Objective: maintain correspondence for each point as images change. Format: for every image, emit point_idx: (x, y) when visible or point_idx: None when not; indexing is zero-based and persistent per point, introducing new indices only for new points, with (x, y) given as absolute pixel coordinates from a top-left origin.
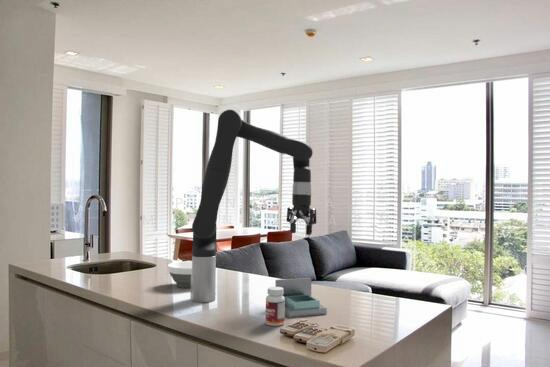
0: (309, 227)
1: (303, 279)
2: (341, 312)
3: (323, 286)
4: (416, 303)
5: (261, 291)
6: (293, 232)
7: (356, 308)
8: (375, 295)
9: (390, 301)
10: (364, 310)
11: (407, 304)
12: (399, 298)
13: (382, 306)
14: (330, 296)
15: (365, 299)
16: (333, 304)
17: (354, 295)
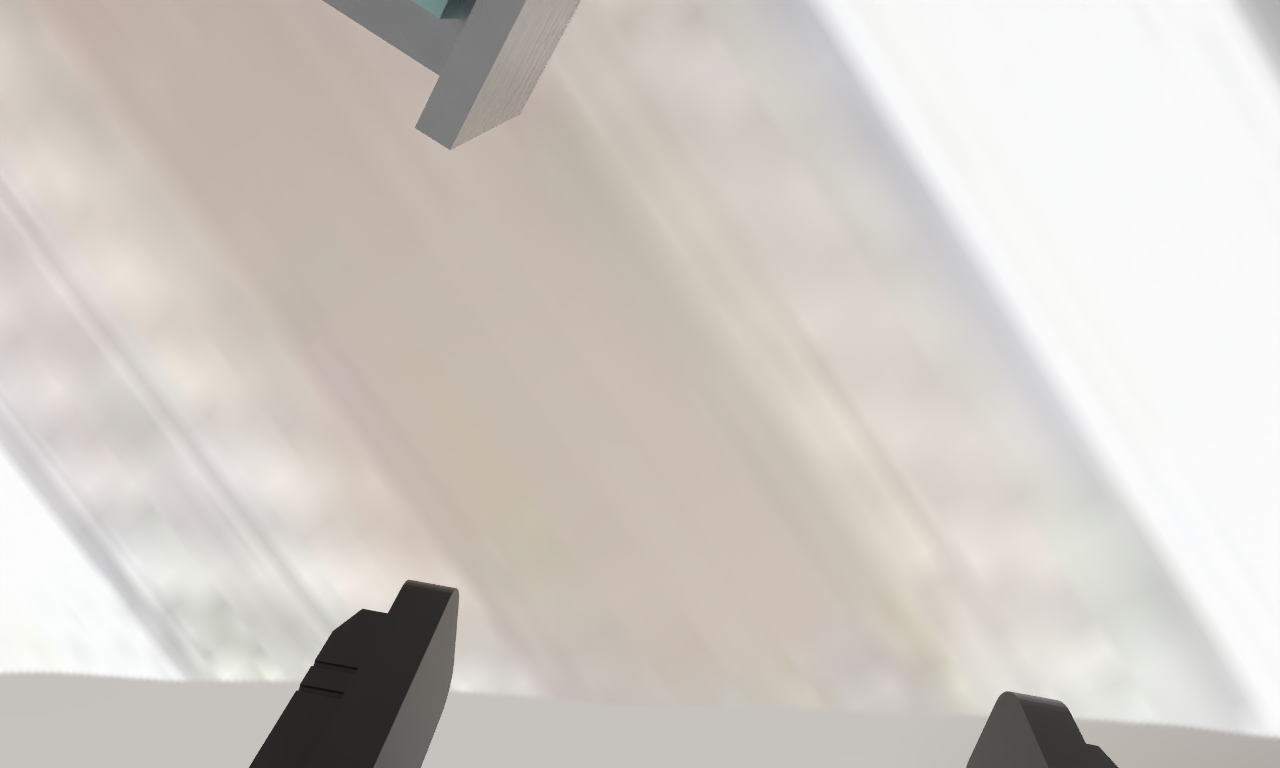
0: (263, 750)
1: (465, 26)
2: (160, 52)
3: (785, 697)
4: (22, 614)
5: (1191, 241)
6: (993, 735)
7: (172, 249)
8: None
9: (157, 571)
10: (95, 235)
11: (36, 562)
12: (173, 669)
13: (97, 420)
14: (551, 457)
15: (305, 525)
16: (372, 244)
17: (435, 583)
